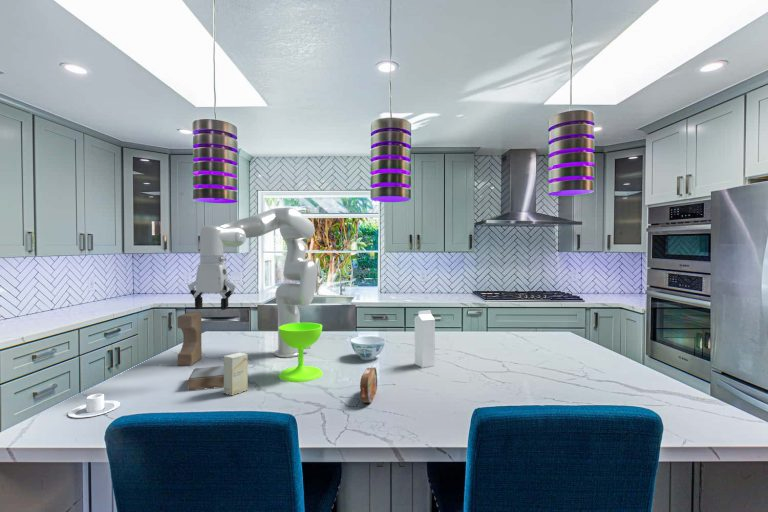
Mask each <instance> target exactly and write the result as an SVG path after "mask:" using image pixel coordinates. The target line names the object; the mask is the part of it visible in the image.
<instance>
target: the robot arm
mask: <svg viewBox="0 0 768 512" xmlns="http://www.w3.org/2000/svg"><path fill="white" fill-rule="evenodd" d="M278 229H279V233H280V235H281V237H282V239H283V240H284V242H285V245H286V248H287V249H286V250H287V251H286V257H285V262H284V265H283V266H284V267H283V271H282V272H283V277H284V279H285V280H287V281H292V282H293V281H294V282H299V283H289V282H286V283H282V284H280V285H278V287H277V288H276V289H275V301H276V306H277V349H276V350H275V351H274V356H276V357H278V358H294V357H298V349H297V348H293V347H290V346H289V345H287V344H286V343H285V342H284V341H283V340H282V338H281V336H280V334H279V327H280V326H282V325H285V324H291V323H301V321H300V320H301V315H300V310H299V307H298V306H300V307H306V306H309V305H310V304H311V303H312V302H313V300H314V297H315V291H316V286H317V279H318V270H319V269H318V267H317V264H316V263H315V262H314V261H313V260H309V259H306V255H307V254H306V253H307V249H306V245H305V243H304V242H303V240H308V239H311V238H313V236H314V235H315V232H316V229H315V225H314V223H313V221H311V219H309V218H308V217H306V216H305V215H304V214H303V213H301V212H300V211H298V210H297V209H295V208H293V207H275V208H271V209H268V210H266V211H263V212H259V213H258V214H255V215H251V216H247V217H244V218H241V219H237V220H234V221H230V222H227V223H223V224H221V225H203V226H201V227H200V232H199V235H200V236H199V238H200V240H199V245H200V246H199V247H200V248H199V255H200V256H199V264H198V265H197V270H196V276H195V281H194V282H192V283H190V284H188V286H187V287H188V290H189V292H190V294H191V295H192V297H193V298H194V310H199V309H200V310H201V309H202V308H203V294H219V295H220V297H222V298H221V299H220V310H221V311H225V310H227V309H228V307H229V299H230V297H231V296H232V294H233V293H234V292H235V289H236V285H235V284H233V283H231V282H230V281H229V276H228V274H229V273H228V270H227V266H226V265H227V264H224V263H225V262H227V257H225V256H224V248H237V247H240V246H242V245H244V244H245V242H246V240H247V239H248V238H249V239H251V238H257V237H262V236H264V235H266V234H269V233H271V232H273V231H275V230H278ZM310 349H311V346H309V347H307V348H303V350H310Z"/></svg>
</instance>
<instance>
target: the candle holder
mask: <svg viewBox="0 0 768 512" xmlns="http://www.w3.org/2000/svg"><path fill="white" fill-rule="evenodd" d="M105 405H112V408H110V409H108V410H105V411H103V412H100V411H102V410H104V408H105ZM120 406H121V402H120V401H118V400H112V399H111V400H107V399H106V400H105V394H104V393H93V394H90V395H88V396H87V397H86V398H85V403H84V404H82V405H79V406H77V407H75V408H72V409H71V410H69V411H68V413H67V415H68V417H69V418H70V417H71V418H75V419H77V418H78V419H81V418H90V417H96V416H99V415H103V414H106V413H110V412H112V411H113V410H116V409H117V408H119V407H120ZM82 409H86V413H96V412H100V413H96V414H90V415H89V414H88V415H77V414H76V413H77V412H79V411H80V410H82Z"/></svg>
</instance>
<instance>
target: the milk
mask: <svg viewBox="0 0 768 512" xmlns="http://www.w3.org/2000/svg"><path fill="white" fill-rule="evenodd" d="M435 322H436V319H435V317H434V316H433V314H432V310H431V309H428V310H418V313H417V316H415V317H414V364H415V365H416V366H418V367H420V368H428V367H429V366H430V367H435V365H436V364H435V363H436V362H435V361H436V358H435V356H436V343H435V342H436V325H435V324H436V323H435Z"/></svg>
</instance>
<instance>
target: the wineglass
mask: <svg viewBox="0 0 768 512" xmlns="http://www.w3.org/2000/svg"><path fill="white" fill-rule="evenodd" d="M322 331H323V325H322V324H321V323H316V322H300V323H291V324H285V325H282V326H280V327H279V334H280V336H281V338H282V340H283V341H284V342H285V343H286V344H287V345H289V346H290V347H293V348H297V349H298V356H297V358H298V360H297V364H298V365H297V366H292V367H289V368H285V369H284V370H282V371H281V372H280V373H279V375H278V379H279V378H280V380H281V379H282V380H281V381H283V380H284V382H287V381H290V382H289V383H304V381H305V382H310V381H309V380H311V381H314V379H315V380H317V379H319V378H321V377H322V376H323V371H322V370H321V368H319V367H316V366H310V365H307V366H306V365H305V364H304V349H303V348H307V347H309V346H310V347H312V345H314V344H315V343H316V342H317V341H318V340H319V339H320V338H321V335H322Z"/></svg>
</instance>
